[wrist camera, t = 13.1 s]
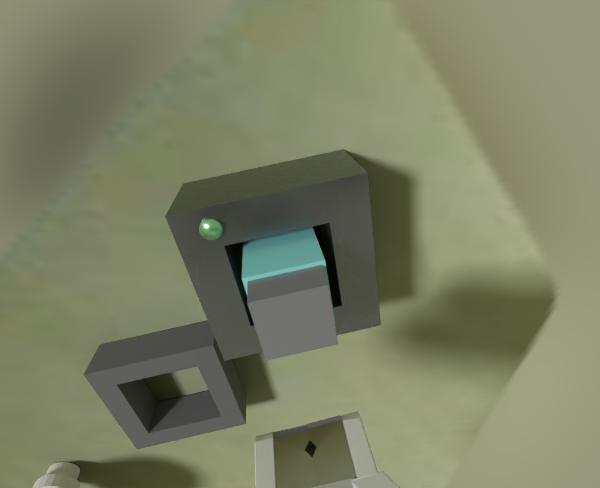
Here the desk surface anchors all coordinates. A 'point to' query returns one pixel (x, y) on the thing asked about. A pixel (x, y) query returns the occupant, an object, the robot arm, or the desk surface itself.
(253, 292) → the plug
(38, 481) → the light bulb
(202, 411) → the frame
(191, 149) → the desk surface
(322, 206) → the port
